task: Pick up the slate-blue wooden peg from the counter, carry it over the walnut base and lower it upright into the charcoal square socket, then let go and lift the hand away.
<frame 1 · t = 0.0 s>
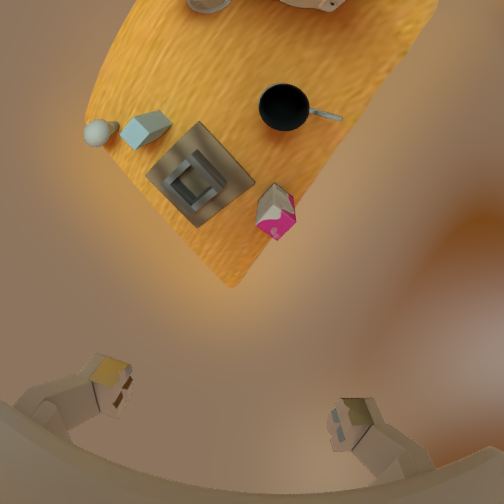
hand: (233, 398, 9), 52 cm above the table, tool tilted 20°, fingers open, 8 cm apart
supplement box: (275, 198, 60), on the table
peg: (159, 124, 52), on the table
lightbulb: (116, 126, 52), on the table
socket: (198, 176, 58), on the table
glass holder: (295, 105, 48), on the table
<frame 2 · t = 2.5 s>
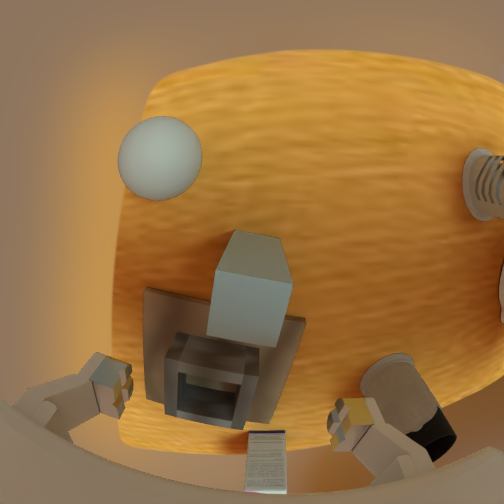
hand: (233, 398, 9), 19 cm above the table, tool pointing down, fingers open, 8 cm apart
supplement box: (266, 438, 36), on the table
peg: (253, 255, 28), on the table
french press: (485, 179, 24), on the table
lightbulb: (188, 163, 25), on the table
socket: (214, 365, 32), on the table
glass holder: (391, 386, 33), on the table
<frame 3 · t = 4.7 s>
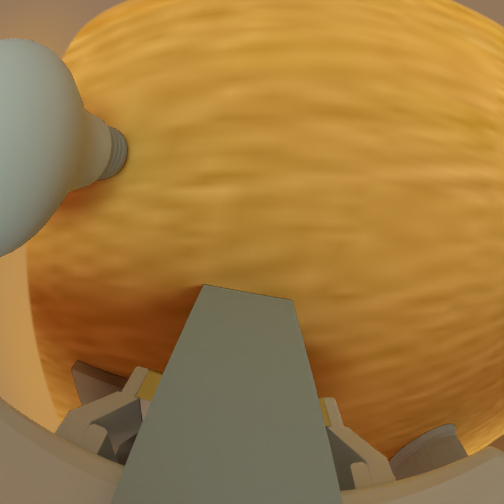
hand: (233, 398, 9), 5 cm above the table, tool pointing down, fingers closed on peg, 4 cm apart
peg: (240, 330, 14), on the table, touching gripper
lightbulb: (115, 154, 12), on the table
socket: (190, 458, 18), on the table
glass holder: (423, 455, 19), on the table
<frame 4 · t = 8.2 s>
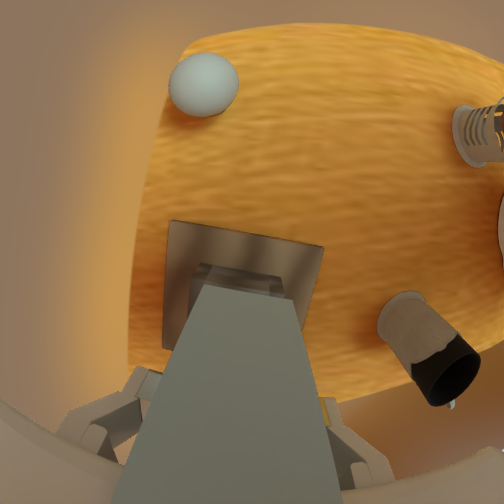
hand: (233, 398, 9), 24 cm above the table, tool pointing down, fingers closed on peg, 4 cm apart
peg: (240, 330, 14), point 18 cm above the table, touching gripper
french press: (473, 131, 26), on the table
lightbulb: (217, 106, 28), on the table
socket: (235, 302, 34), on the table
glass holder: (406, 330, 35), on the table
when the fingers open (8 cm above the table, at t = 12.1 s): peg drops 1 cm, resting on socket.
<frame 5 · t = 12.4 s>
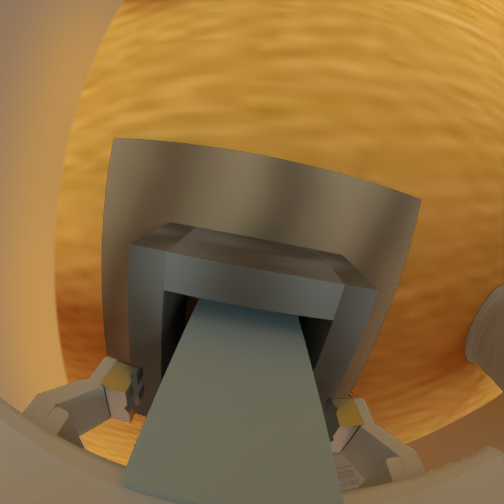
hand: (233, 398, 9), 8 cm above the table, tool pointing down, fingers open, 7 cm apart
supplement box: (316, 449, 21), on the table
peg: (243, 317, 15), point 1 cm above the table, touching socket
socket: (242, 309, 16), on the table
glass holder: (493, 341, 18), on the table
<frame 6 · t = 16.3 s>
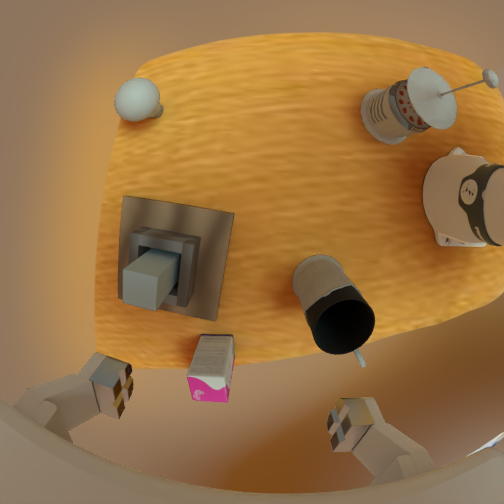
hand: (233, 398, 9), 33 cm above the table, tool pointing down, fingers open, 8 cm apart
supplement box: (217, 346, 47), on the table
peg: (168, 260, 42), point 1 cm above the table, touching socket
french press: (388, 112, 36), on the table
lightbulb: (157, 112, 36), on the table
socket: (170, 258, 42), on the table
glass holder: (325, 293, 44), on the table
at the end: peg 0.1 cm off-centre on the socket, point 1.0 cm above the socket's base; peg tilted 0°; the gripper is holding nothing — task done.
